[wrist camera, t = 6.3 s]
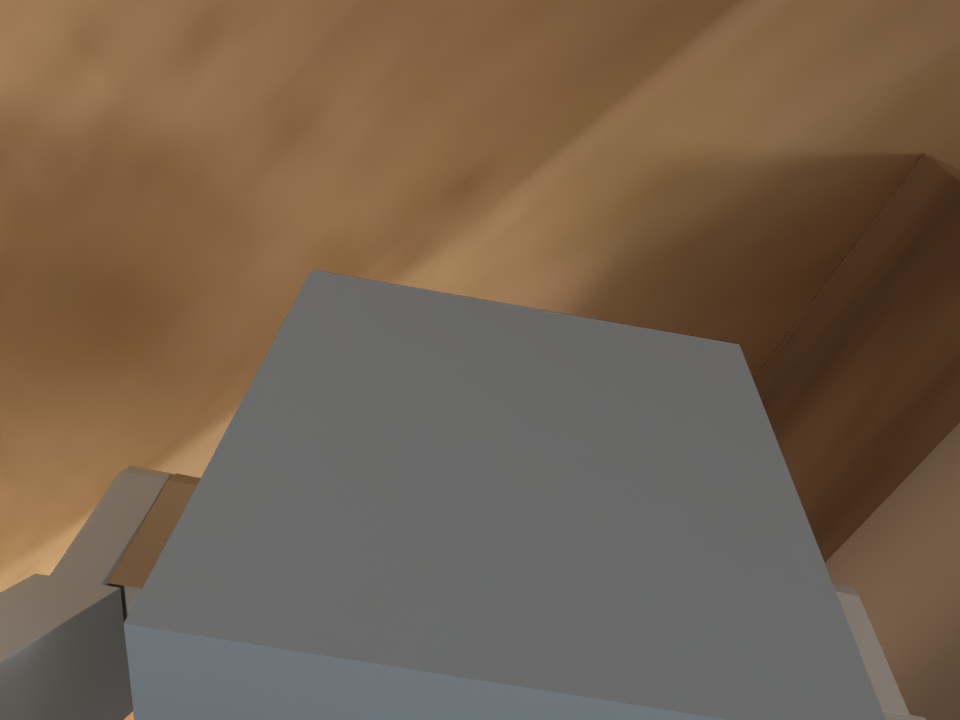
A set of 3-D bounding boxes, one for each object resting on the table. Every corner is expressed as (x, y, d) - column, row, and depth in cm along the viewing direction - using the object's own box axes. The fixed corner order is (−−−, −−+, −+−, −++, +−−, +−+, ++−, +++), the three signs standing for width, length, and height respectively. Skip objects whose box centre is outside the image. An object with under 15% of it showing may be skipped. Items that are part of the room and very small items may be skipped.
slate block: (739, 344, 10) (895, 746, 5) (627, 625, 12) (673, 1040, 8) (311, 269, 9) (124, 624, 5) (295, 571, 12) (161, 966, 8)
